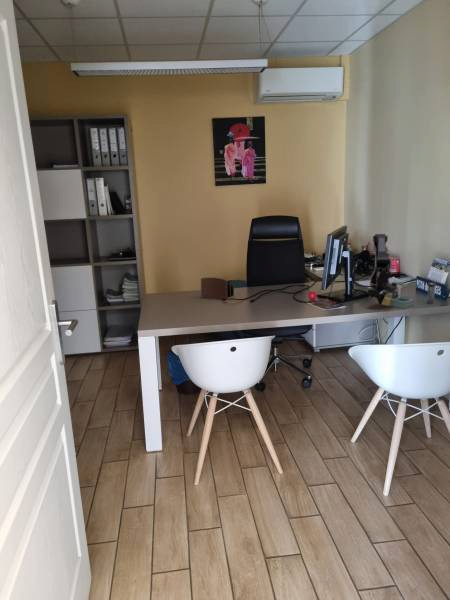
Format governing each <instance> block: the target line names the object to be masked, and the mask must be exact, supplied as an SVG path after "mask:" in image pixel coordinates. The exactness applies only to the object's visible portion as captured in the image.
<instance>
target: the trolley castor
mask: <svg viewBox="0 0 450 600" xmlns="http://www.w3.org/2000/svg"><path fill="white" fill-rule="evenodd" d="M402 287H404V286H400V285H398V284H397V288H398V289H397V291H396V290H395V291H394V292H392V293H391V294H390V295H391V297H390V298H392V299H395V298H398V297H402V291H401V288H402Z"/></svg>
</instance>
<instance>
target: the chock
mask: <svg viewBox="0 0 450 600" xmlns="http://www.w3.org/2000/svg"><path fill="white" fill-rule="evenodd" d="M391 299H392V298H391V297H388V296H385V297H384V299H383V302H382V304H381V305H384V306H391Z"/></svg>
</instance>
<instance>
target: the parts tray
mask: <svg viewBox="0 0 450 600" xmlns="http://www.w3.org/2000/svg"><path fill="white" fill-rule="evenodd" d="M414 300H415V299H413V298H407V297H402V296H401V297H398V298H395V299H391V305H390V307H394V308H399V309H404V310H405V309H408V308H411V307H414Z"/></svg>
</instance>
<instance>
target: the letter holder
mask: <svg viewBox="0 0 450 600" xmlns="http://www.w3.org/2000/svg"><path fill="white" fill-rule="evenodd" d="M200 295H201V296H200V298H202V297H203V299H212V298H213V300H214V299H215V300H222V299H225V300H224V301H227V300H228V301H229V300H230V299H232V298H234V297H235V287H234V285H232V284H231V283H230V282H228V280H227V279H224V278H218V277H202V278H201V279H200ZM233 296H234V297H233ZM231 297H232V298H231Z"/></svg>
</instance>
